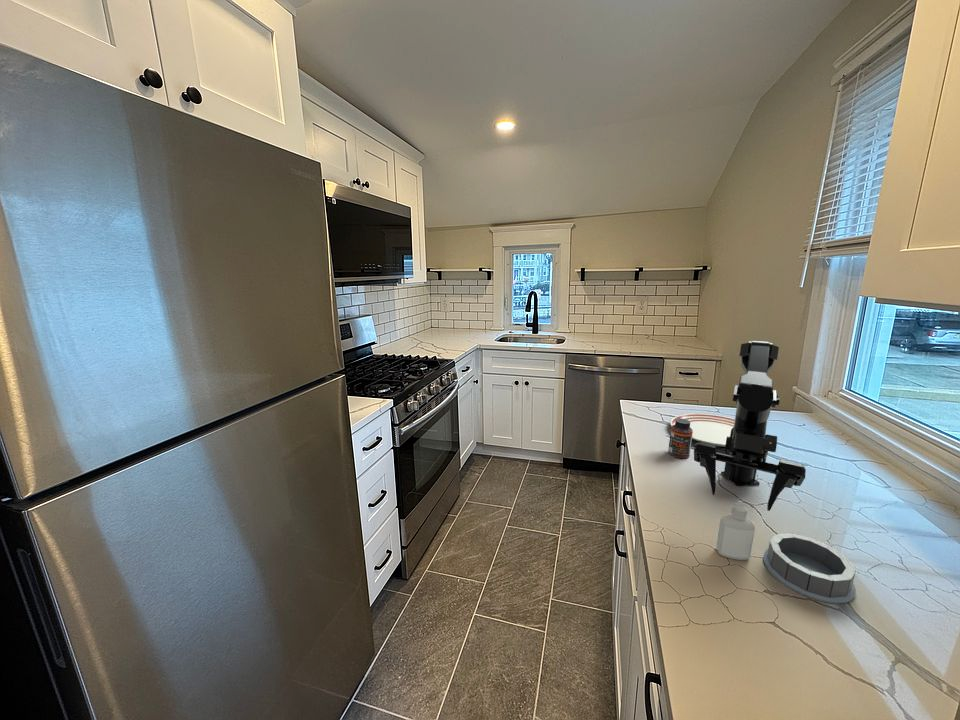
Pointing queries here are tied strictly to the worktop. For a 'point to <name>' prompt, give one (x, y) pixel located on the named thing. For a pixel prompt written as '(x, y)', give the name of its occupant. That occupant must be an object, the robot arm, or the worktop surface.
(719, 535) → the eye dropper bottle
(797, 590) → the grey segmented round bowl
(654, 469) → the worktop surface
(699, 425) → the dinner plate
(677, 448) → the supplement bottle
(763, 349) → the robot arm
